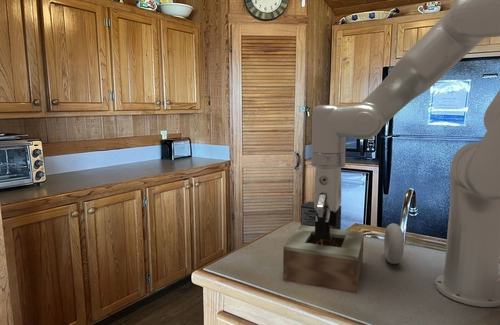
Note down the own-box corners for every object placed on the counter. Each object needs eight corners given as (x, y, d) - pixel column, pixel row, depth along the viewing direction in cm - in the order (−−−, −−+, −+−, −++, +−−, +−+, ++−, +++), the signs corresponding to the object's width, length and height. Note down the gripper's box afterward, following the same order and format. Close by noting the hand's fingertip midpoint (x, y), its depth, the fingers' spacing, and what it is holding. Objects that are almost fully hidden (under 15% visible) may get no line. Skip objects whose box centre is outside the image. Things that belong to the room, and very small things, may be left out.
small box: (341, 239, 107) (342, 204, 105) (334, 246, 101) (335, 210, 100) (308, 232, 112) (309, 200, 111) (299, 239, 107) (300, 204, 105)
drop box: (362, 262, 90) (363, 232, 89) (356, 292, 76) (357, 256, 74) (300, 253, 96) (300, 224, 95) (283, 279, 81) (283, 246, 80)
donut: (404, 271, 85) (406, 231, 84) (388, 270, 86) (390, 230, 84) (395, 255, 95) (398, 218, 93) (382, 254, 96) (384, 217, 94)
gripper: (339, 166, 73) (336, 247, 75) (349, 155, 88) (346, 222, 91) (303, 164, 75) (301, 242, 78) (318, 154, 91) (317, 219, 94)
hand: (326, 231), depth 84 cm, fingers open, 9 cm apart
